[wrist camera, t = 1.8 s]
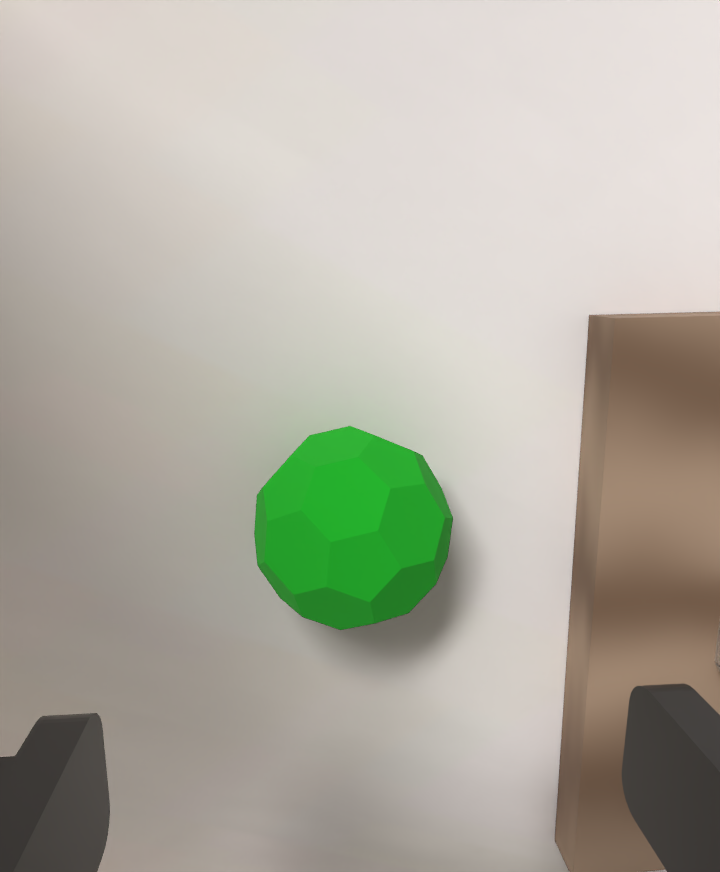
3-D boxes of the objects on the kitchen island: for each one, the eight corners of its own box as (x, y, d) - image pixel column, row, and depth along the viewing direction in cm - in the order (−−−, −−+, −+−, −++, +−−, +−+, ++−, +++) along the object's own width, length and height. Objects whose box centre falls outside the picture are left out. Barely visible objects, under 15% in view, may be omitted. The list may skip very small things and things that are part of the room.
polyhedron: (457, 451, 19) (510, 507, 14) (388, 596, 19) (416, 693, 15) (297, 385, 18) (298, 421, 13) (232, 539, 19) (211, 625, 14)
